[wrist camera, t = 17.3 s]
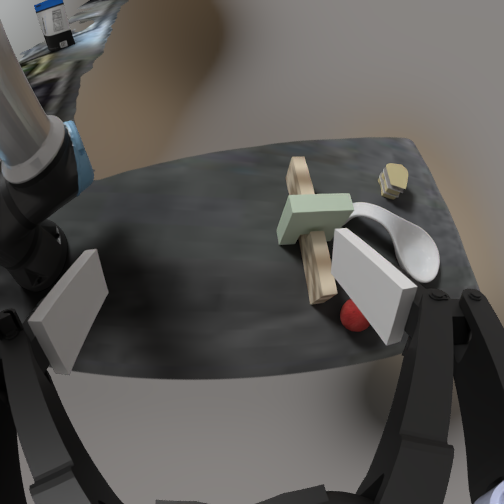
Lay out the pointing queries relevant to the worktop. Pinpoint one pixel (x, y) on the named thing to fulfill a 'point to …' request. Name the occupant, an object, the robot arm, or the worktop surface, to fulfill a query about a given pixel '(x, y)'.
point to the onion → (353, 317)
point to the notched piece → (313, 215)
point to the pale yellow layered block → (393, 180)
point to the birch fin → (312, 240)
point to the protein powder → (54, 24)
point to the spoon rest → (405, 241)
